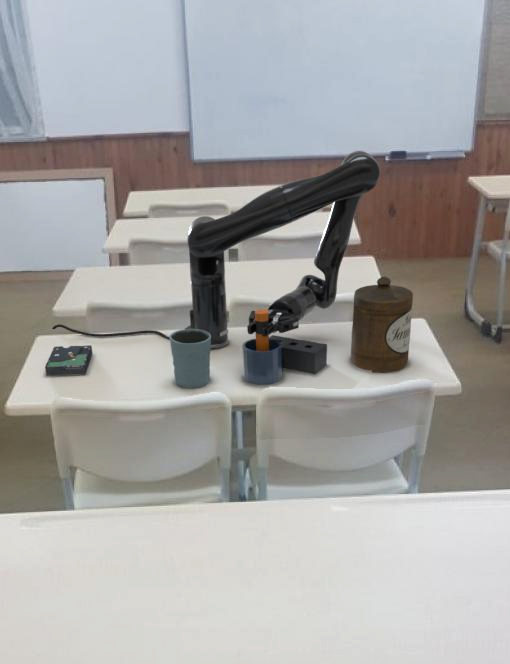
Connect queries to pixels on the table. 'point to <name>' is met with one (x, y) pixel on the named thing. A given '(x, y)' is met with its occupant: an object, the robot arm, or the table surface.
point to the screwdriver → (260, 322)
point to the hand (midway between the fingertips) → (256, 331)
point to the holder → (302, 354)
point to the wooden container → (381, 327)
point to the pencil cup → (262, 363)
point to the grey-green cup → (191, 357)
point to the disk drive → (69, 360)
